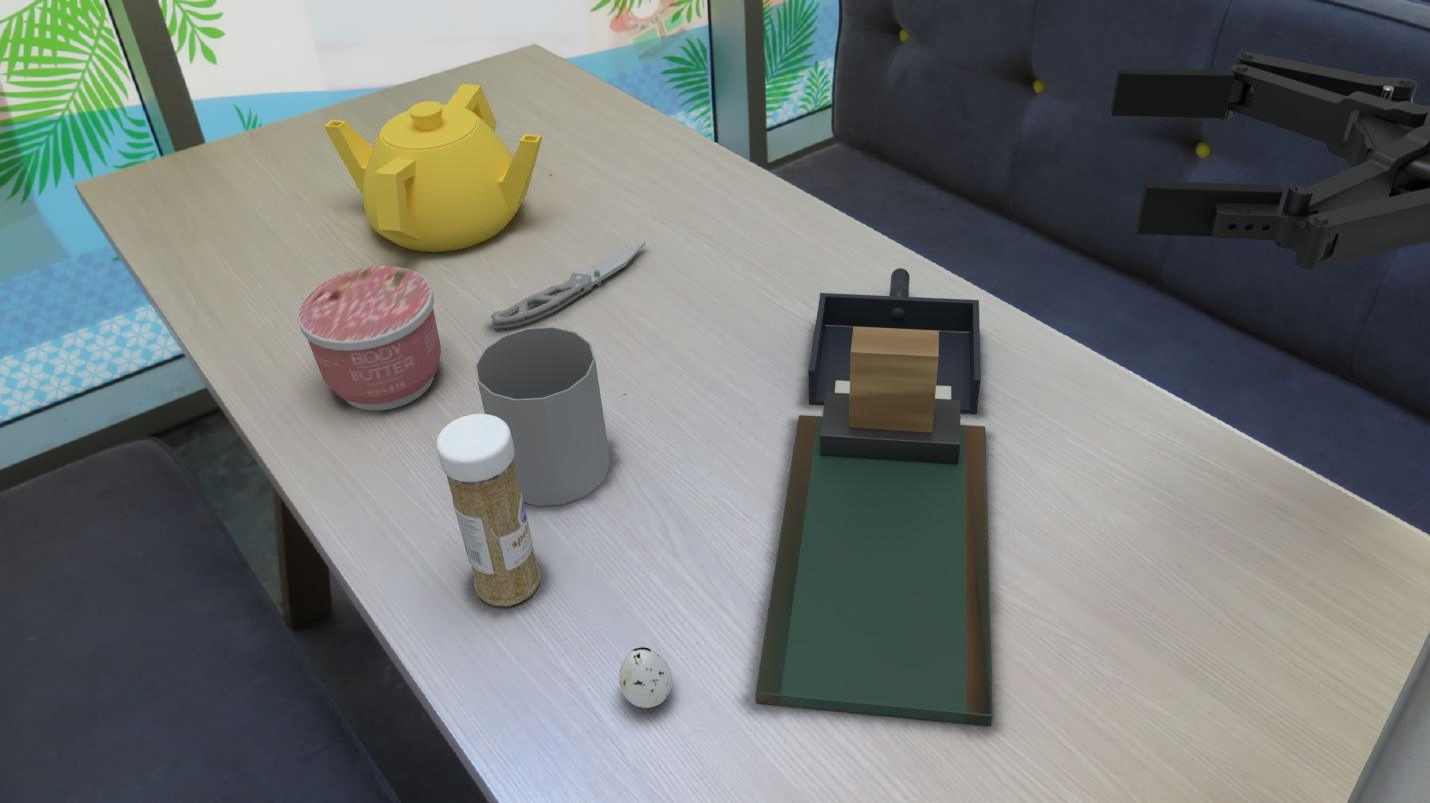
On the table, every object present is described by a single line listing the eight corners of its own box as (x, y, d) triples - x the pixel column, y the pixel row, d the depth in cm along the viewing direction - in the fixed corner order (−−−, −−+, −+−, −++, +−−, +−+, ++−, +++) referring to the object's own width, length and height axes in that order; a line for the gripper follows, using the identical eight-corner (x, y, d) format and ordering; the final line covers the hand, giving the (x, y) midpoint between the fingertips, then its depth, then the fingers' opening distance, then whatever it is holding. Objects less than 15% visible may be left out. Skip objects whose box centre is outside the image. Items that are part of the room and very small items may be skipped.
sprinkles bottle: (548, 597, 80) (517, 447, 71) (481, 617, 79) (441, 468, 70) (533, 550, 83) (501, 402, 75) (468, 569, 82) (429, 421, 74)
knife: (635, 244, 113) (657, 255, 112) (488, 328, 104) (510, 341, 102) (634, 230, 112) (656, 241, 111) (485, 313, 103) (507, 326, 101)
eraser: (958, 464, 86) (968, 366, 81) (819, 455, 88) (820, 358, 82) (958, 419, 90) (968, 323, 84) (825, 411, 92) (826, 316, 86)
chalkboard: (991, 726, 70) (992, 716, 70) (755, 703, 73) (755, 693, 72) (984, 435, 90) (985, 425, 89) (798, 424, 92) (798, 414, 92)
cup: (521, 425, 94) (499, 322, 87) (622, 435, 92) (607, 331, 86) (483, 500, 88) (457, 394, 81) (591, 512, 86) (573, 406, 80)
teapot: (498, 161, 128) (478, 54, 120) (562, 228, 116) (544, 115, 109) (345, 207, 122) (313, 98, 114) (396, 283, 110) (365, 168, 103)
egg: (684, 689, 74) (678, 637, 70) (657, 728, 72) (649, 676, 68) (640, 670, 75) (632, 618, 72) (612, 708, 73) (603, 656, 70)
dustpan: (976, 414, 92) (980, 379, 90) (808, 404, 94) (808, 370, 92) (974, 293, 104) (978, 260, 102) (825, 287, 106) (826, 254, 104)
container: (471, 350, 102) (453, 272, 97) (417, 430, 94) (394, 349, 89) (361, 336, 104) (338, 259, 99) (299, 413, 96) (270, 333, 91)
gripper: (1607, 354, 57) (1141, 331, 60) (1444, 115, 75) (1096, 107, 79) (1681, 216, 52) (1170, 199, 55) (1487, -2, 71) (1115, -5, 74)
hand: (1126, 145), depth 67 cm, fingers open, 13 cm apart
